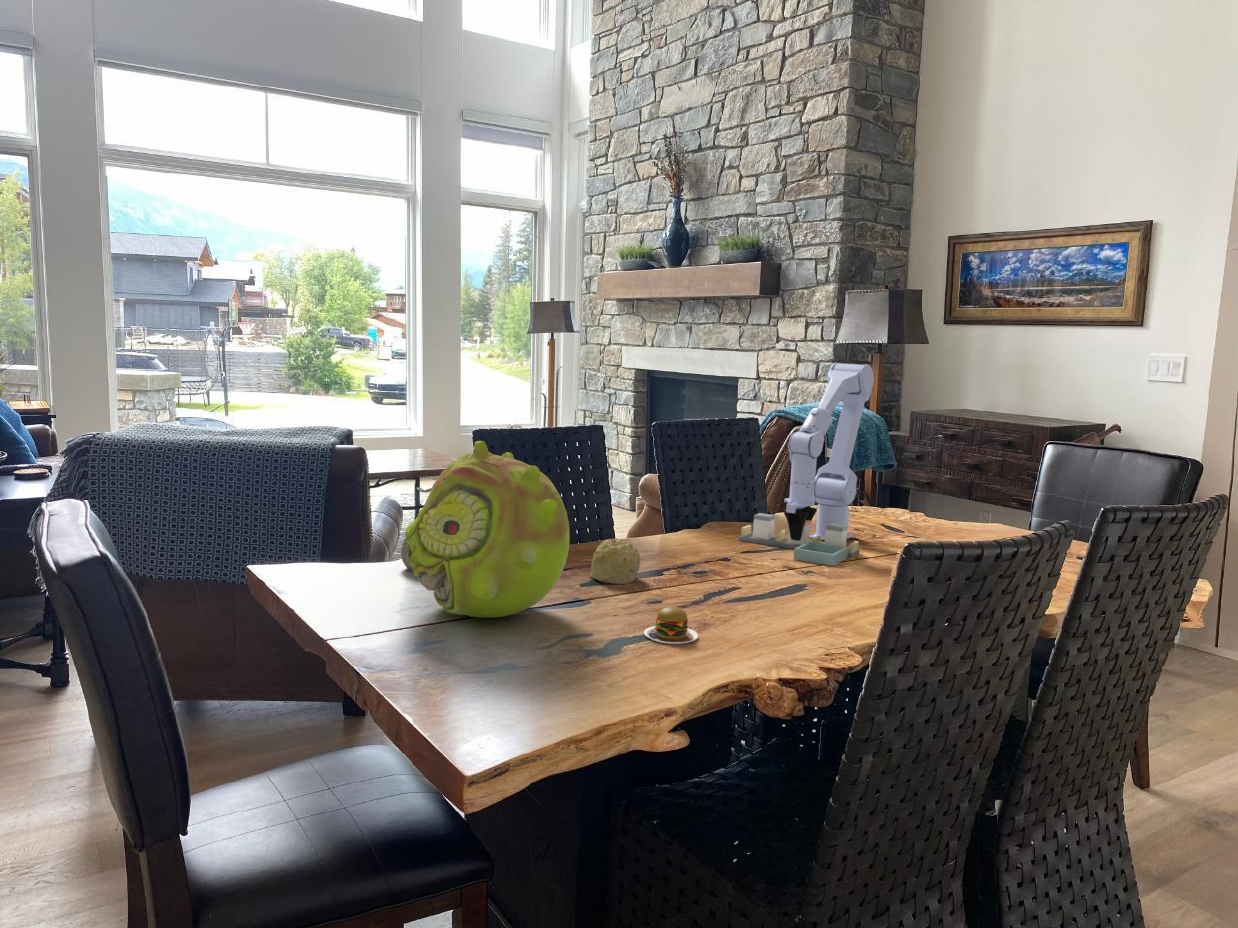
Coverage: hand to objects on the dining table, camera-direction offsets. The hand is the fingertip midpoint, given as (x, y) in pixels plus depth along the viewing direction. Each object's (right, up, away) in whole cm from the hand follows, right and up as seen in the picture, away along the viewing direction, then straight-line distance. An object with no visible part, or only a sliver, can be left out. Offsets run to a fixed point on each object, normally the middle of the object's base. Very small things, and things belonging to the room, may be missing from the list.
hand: (798, 538), depth 227 cm
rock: (-44, -5, -36) cm, 57 cm away
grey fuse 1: (-8, 0, +5) cm, 9 cm away
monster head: (-66, -8, -64) cm, 92 cm away
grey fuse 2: (+8, -2, -4) cm, 9 cm away
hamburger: (-35, -11, -72) cm, 80 cm away
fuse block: (0, -2, 0) cm, 2 cm away
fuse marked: (0, -1, 0) cm, 1 cm away
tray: (+3, -4, -11) cm, 12 cm away
